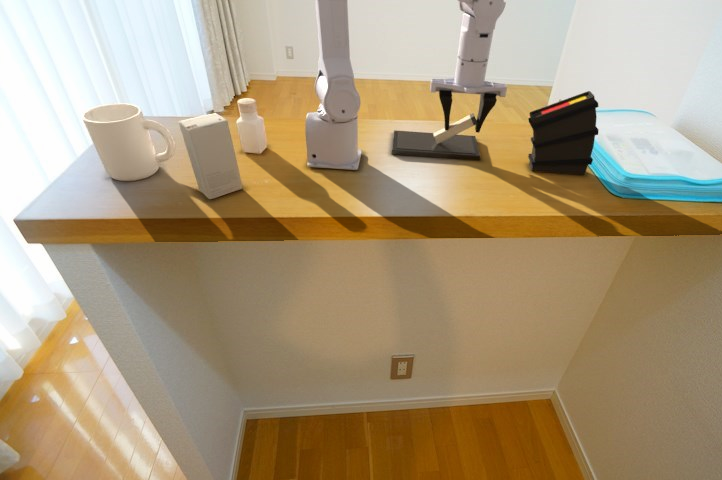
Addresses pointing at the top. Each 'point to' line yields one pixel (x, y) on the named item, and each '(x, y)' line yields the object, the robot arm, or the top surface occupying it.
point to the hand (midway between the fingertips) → (461, 129)
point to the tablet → (434, 146)
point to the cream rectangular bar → (455, 128)
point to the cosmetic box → (211, 154)
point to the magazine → (564, 135)
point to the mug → (126, 141)
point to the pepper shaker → (251, 127)
